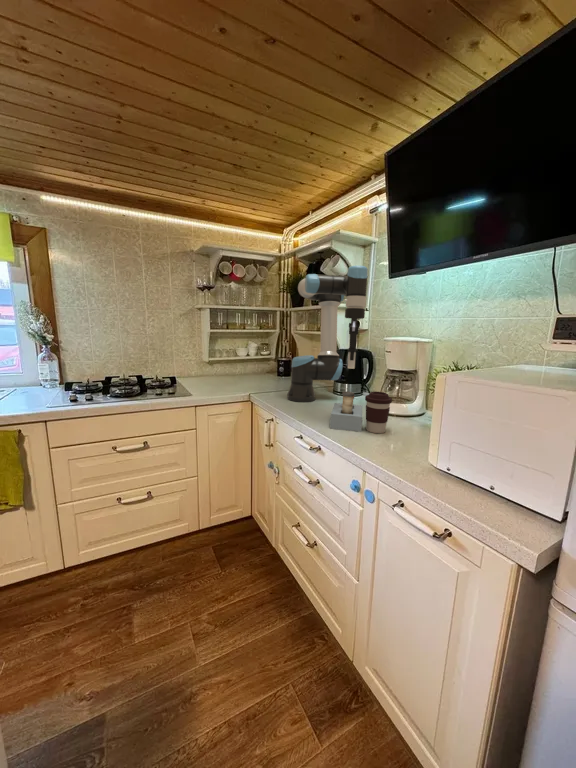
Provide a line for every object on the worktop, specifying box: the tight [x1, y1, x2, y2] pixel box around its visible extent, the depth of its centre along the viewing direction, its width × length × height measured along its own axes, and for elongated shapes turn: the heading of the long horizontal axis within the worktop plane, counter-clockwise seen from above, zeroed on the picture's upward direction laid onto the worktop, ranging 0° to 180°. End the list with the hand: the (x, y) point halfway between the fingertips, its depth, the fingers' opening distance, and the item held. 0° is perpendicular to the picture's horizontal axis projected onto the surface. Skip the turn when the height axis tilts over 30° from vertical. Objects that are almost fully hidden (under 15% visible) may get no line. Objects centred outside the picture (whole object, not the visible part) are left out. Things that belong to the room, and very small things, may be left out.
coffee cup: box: [364, 391, 393, 434], centre depth 124 cm, size 10×10×15 cm
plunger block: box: [329, 402, 363, 433], centre depth 132 cm, size 18×12×6 cm, turn 167°
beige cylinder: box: [341, 390, 355, 414], centre depth 127 cm, size 5×5×9 cm
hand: (351, 368), depth 128 cm, fingers closed
